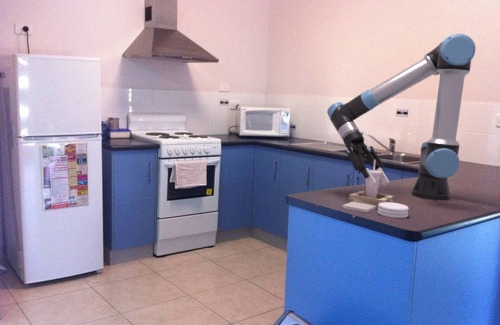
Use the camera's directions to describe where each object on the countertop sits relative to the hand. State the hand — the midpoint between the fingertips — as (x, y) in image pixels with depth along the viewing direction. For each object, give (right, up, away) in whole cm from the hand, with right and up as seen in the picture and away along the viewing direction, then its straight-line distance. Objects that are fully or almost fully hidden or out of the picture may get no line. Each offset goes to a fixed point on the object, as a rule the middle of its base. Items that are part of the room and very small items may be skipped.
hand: (379, 184), depth 170 cm
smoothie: (-2, -5, +4) cm, 7 cm away
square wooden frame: (-2, -7, +4) cm, 9 cm away
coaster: (+1, -10, -13) cm, 16 cm away
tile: (-9, -8, -6) cm, 14 cm away
